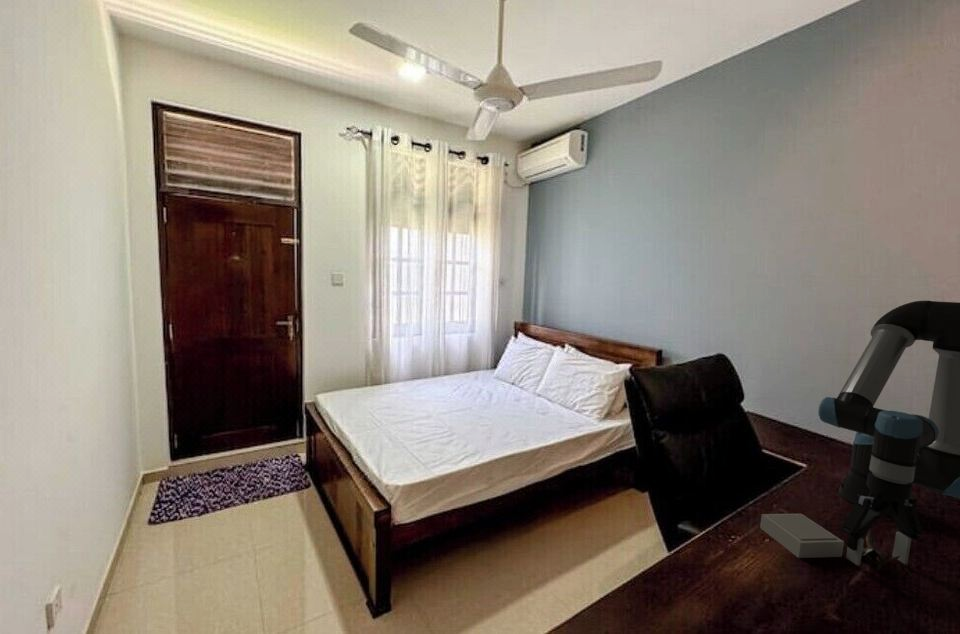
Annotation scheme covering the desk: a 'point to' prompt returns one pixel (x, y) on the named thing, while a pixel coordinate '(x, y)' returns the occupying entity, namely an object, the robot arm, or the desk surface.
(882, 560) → the eagle figurine
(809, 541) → the tray
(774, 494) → the desk surface
